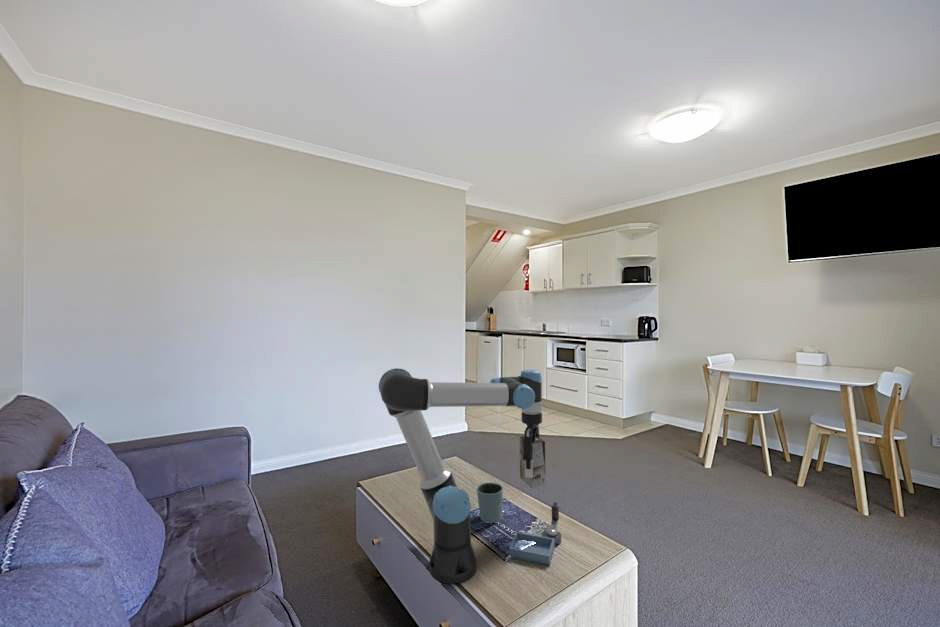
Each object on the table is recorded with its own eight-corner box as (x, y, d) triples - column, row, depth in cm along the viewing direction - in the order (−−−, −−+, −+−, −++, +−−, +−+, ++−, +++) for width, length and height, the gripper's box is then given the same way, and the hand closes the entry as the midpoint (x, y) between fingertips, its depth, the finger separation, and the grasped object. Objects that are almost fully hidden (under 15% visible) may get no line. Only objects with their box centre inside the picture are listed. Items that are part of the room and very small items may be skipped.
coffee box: (546, 485, 145) (546, 441, 144) (531, 488, 142) (530, 443, 142) (533, 475, 153) (533, 434, 153) (519, 478, 151) (518, 436, 151)
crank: (556, 537, 137) (556, 519, 137) (545, 535, 139) (544, 517, 139) (561, 520, 148) (561, 503, 148) (550, 518, 150) (550, 501, 150)
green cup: (508, 520, 153) (507, 489, 153) (485, 528, 148) (485, 496, 148) (494, 509, 162) (493, 480, 162) (472, 516, 157) (472, 485, 157)
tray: (549, 565, 126) (549, 556, 126) (509, 557, 131) (509, 548, 131) (554, 547, 136) (554, 538, 136) (516, 540, 140) (516, 531, 140)
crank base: (559, 547, 136) (559, 541, 136) (517, 539, 141) (517, 533, 141) (562, 536, 142) (562, 531, 142) (521, 529, 147) (521, 524, 147)
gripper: (535, 421, 135) (536, 485, 136) (547, 405, 157) (548, 461, 157) (513, 419, 138) (514, 482, 138) (528, 404, 160) (529, 458, 160)
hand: (532, 471), depth 148 cm, fingers closed on coffee box, 11 cm apart
